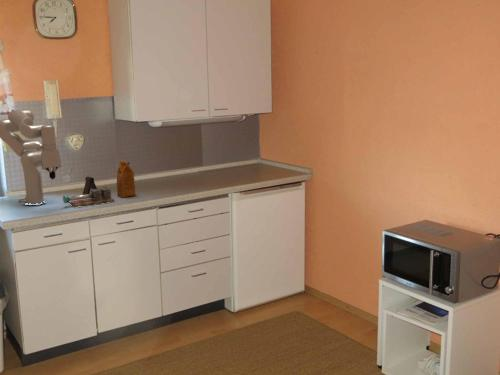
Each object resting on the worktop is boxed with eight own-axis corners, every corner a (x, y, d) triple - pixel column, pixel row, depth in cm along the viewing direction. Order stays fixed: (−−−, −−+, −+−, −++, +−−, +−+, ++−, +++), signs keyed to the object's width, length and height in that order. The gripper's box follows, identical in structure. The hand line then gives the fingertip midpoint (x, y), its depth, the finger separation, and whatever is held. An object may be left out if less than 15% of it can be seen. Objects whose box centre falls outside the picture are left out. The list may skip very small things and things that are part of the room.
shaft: (65, 204, 346) (64, 196, 345) (63, 202, 350) (62, 195, 349) (99, 199, 357) (98, 191, 356) (96, 197, 360) (96, 190, 359)
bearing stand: (74, 208, 346) (73, 195, 344) (68, 204, 356) (67, 191, 354) (114, 201, 358) (113, 189, 356) (107, 198, 368) (106, 186, 366)
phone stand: (86, 197, 371) (84, 178, 369) (82, 196, 376) (80, 177, 373) (99, 195, 377) (98, 176, 375) (95, 193, 382) (93, 175, 379)
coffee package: (130, 192, 382) (128, 158, 377) (137, 196, 371) (134, 161, 367) (115, 194, 377) (112, 160, 372) (121, 198, 367) (119, 163, 362)
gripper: (37, 149, 331) (41, 181, 335) (64, 146, 339) (67, 178, 342) (34, 147, 337) (37, 179, 341) (60, 145, 345) (64, 176, 349)
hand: (52, 178), depth 342 cm, fingers closed
